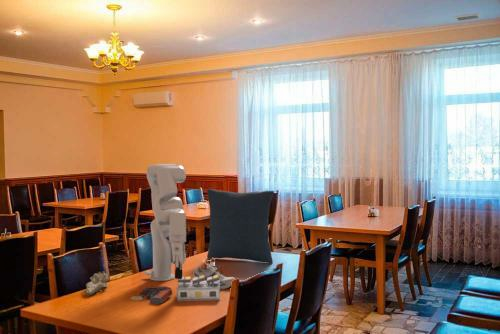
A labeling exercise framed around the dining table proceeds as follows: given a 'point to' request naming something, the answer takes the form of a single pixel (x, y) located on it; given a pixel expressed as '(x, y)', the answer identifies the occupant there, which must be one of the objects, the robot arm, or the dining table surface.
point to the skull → (97, 283)
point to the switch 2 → (198, 279)
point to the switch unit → (198, 291)
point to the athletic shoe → (212, 271)
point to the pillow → (239, 225)
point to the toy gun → (155, 294)
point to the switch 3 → (212, 279)
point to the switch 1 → (184, 280)
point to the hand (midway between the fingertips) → (178, 278)
